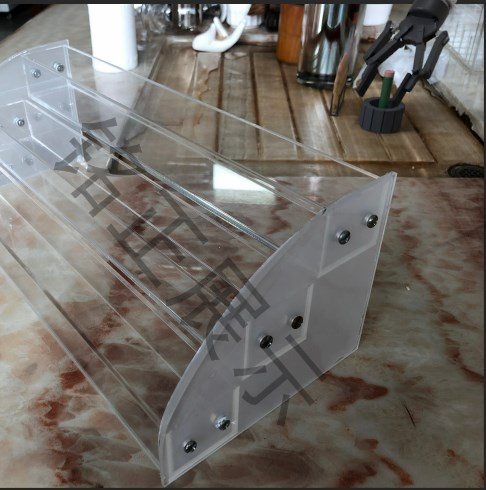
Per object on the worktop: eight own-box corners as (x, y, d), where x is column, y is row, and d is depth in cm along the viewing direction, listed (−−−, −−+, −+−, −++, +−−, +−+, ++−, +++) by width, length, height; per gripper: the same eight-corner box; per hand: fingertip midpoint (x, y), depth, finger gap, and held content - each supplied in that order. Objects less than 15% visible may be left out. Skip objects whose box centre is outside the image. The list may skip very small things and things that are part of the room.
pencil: (386, 126, 130) (397, 71, 123) (379, 128, 129) (390, 73, 123) (379, 123, 132) (389, 69, 125) (372, 125, 131) (382, 70, 124)
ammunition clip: (336, 100, 144) (343, 49, 138) (343, 100, 144) (351, 50, 137) (328, 115, 136) (336, 62, 129) (337, 116, 135) (344, 63, 129)
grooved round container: (408, 127, 129) (413, 105, 126) (381, 136, 125) (385, 113, 123) (378, 115, 135) (382, 94, 132) (350, 123, 132) (354, 101, 129)
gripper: (484, 23, 121) (425, 120, 121) (393, 8, 134) (340, 95, 134) (479, 0, 115) (417, 101, 115) (384, -14, 128) (329, 77, 128)
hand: (376, 98), depth 125 cm, fingers open, 7 cm apart
